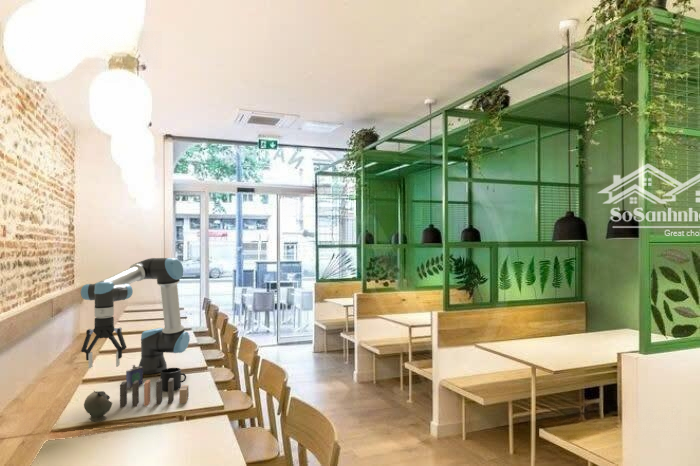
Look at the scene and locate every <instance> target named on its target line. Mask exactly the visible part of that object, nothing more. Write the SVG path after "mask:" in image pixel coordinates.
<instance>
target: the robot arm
mask: <svg viewBox="0 0 700 466" xmlns="http://www.w3.org/2000/svg"><path fill="white" fill-rule="evenodd" d="M183 273H184V266H183V263H182V262H181V261H180V260H179V259H178V258H176V257H156V258H155V257H151V258H147V259H143V260H140V261H139V262H136V263H133V264H131V265H130V266H129V268H127V269H125V270H123V271H120V272H118V273H116V274H113V275H112V276H109V277H107V278H105V279H102V280H101V281H98V282H96V283H88V284H86V283H85V284H84V285H83V286H82V287H81V289H80V296H81V299H83V300H87V301H94V317H95V318H94V328H93V329H92V328H88V329H87V330H86V331H85V333H86V336H85V339H84V342H83V344H82V347H81V350H80V352H81V353H85V360H86V361H88V362H87V363H88V369H92V368H93V351H92V350H93V348H94V347H95V345H96V344H97V341H99V339H109V340H110V341H111V343H112V345H113V346H114V347H115V349H116V350H117V351H116V352H115V367H119V366H120V364H121V363H120V362H121V361H120V360H121V359H122V358H123V351H124V350H126V349H127V344H126V342H125V338H124V336H123V333H122V330H123V329H122V327H116V328H115V326H114V320H115V319H114V318H115V317H114V314H115V312H114V311H115V309H114V307H115V306H114V305H115V304H114V302H119V301H125V300H127V299H129V298H131V297H132V295H133V287H132V285H130V284H133V283H134V282H141V281H143V280H156V283H157V285H158V286H160V293H161V303H162V304H161V306H162V312H163V321H164V322H163V323H164V324H163V325H164V328H163V327H158V328H153V329H146V330H144V331H142V333H141V334H140V338H141V339H140V346H141V347H140V350H141V351H140V352H141V354H140V361H139V363H138V366H139V367H140V366H141V367H143V375H151V374H152V375H153V374H158V373H161V370H163V369H167V368H168V365H167V361H166V359H165V356H164V355H165V354H164V353H166V354H167V353H168V354H170V353H171V354H181V353H184V352H185V351H186V350H187V349H188V346H189V345H190V344H189V343H190V340H191V339H190V338H191V337H190V333H189V332H188V331H185V326H183V325H182V323H181V321H182V320H181V310H180V309H181V308H180V301H179V291H178V290H179V289H178V284H179V282H181V280H180V279H181V278H182V277H183V275H184V274H183ZM114 332H115V333H116V335H117V338H118V340H117V339H116V337H115V335H114V334H113V333H114ZM93 333H94V334H95V336H94V338H93V340H92V341H91V343H90V340H91V337H92V335H93ZM118 341H119V342H118ZM89 343H90V344H89ZM88 345H89V346H88Z"/></svg>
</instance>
